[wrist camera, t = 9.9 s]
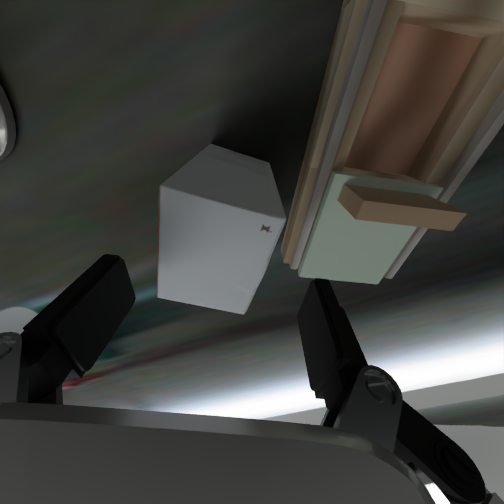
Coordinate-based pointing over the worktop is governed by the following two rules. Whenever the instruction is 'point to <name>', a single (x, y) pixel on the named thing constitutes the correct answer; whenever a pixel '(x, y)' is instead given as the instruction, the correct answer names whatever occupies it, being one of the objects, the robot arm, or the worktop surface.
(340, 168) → the sliding lid wooden box
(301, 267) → the lid
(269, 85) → the worktop surface
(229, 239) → the small box
